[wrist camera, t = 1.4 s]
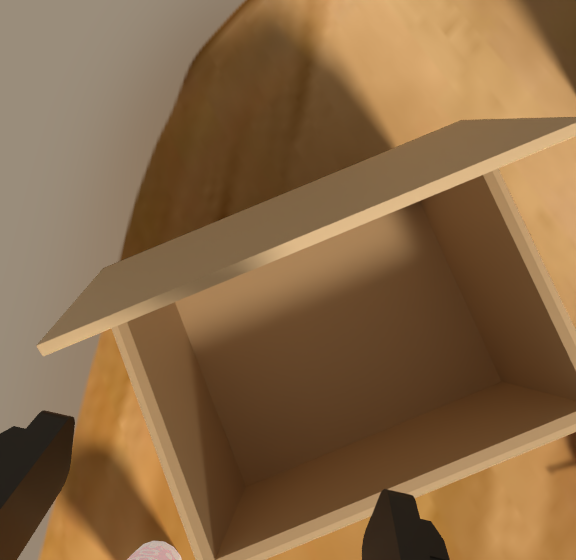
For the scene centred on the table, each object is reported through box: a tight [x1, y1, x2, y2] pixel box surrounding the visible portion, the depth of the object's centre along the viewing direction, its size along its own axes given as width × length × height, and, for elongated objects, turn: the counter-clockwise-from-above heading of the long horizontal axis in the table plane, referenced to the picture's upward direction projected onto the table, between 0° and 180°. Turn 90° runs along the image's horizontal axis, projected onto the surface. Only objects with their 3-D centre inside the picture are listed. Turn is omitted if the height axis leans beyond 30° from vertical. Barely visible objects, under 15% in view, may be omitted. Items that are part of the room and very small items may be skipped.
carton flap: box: [37, 117, 576, 356], centre depth 24 cm, size 23×11×1 cm
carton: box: [111, 168, 576, 560], centre depth 36 cm, size 25×18×14 cm
